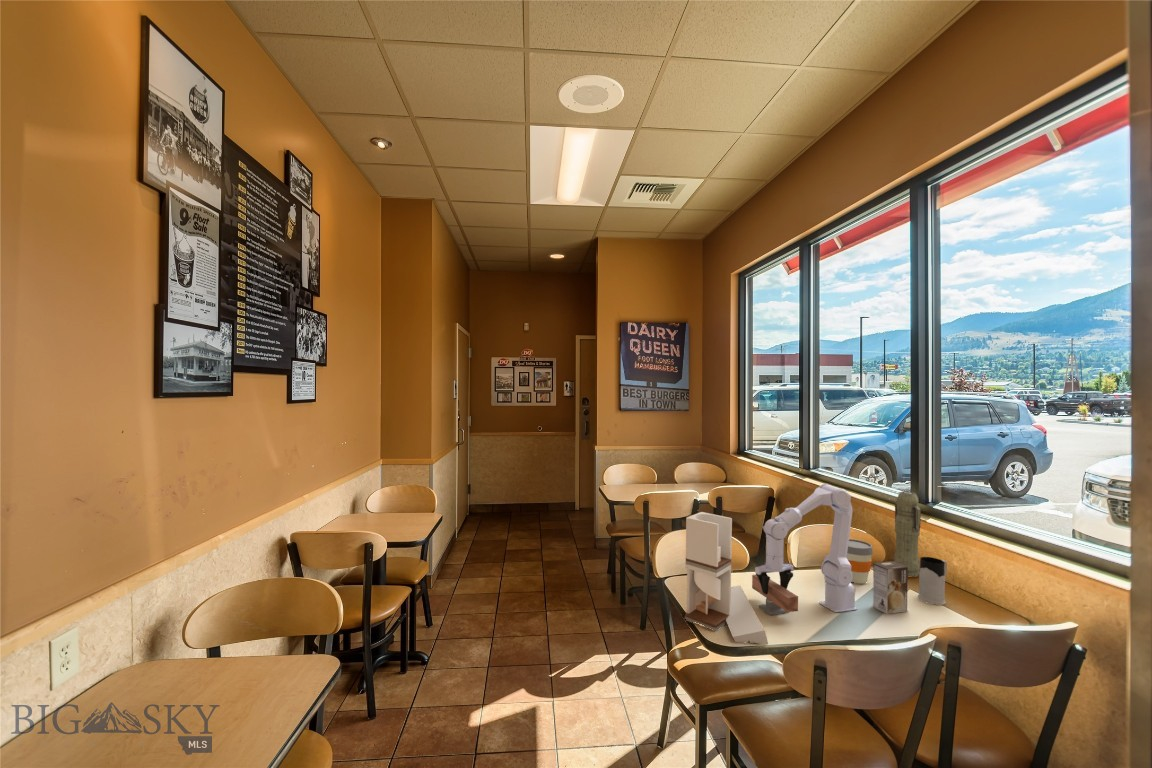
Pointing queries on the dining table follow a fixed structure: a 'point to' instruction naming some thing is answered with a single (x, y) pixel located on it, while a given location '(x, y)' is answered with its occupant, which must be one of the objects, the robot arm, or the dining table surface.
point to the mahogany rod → (777, 595)
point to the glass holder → (932, 580)
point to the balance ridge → (772, 608)
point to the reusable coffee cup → (859, 560)
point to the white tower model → (708, 569)
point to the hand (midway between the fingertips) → (774, 592)
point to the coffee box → (890, 587)
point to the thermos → (907, 531)
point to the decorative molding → (744, 619)
